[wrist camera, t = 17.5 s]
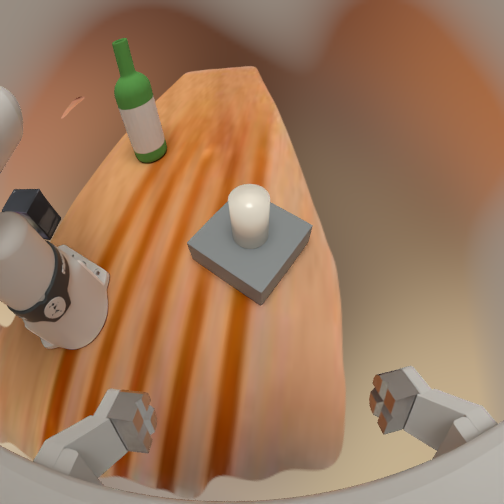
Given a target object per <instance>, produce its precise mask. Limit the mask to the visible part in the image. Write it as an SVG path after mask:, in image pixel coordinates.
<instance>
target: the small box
mask: <svg viewBox="0 0 504 504" xmlns="http://www.w3.org/2000/svg"><path fill="white" fill-rule="evenodd" d="M5 211H12V212H16V213H18V214H20V215H22V216H23V217H24V218H25V219H26V220H27V221H28V222H29V223H30V224H31V226H32V227H33V228H34V229H35V230H36V231H37V232H38V233H39V234H40V236H41V237H42V238H43V239H47V240H51V238H52V236H53V234H54V232H55V230H56V228H57V226H58V224H59V222H60V220H61V217H60V216H59V215H58V213H57V212H56V211H55V210H54V209H53V207H52V206H51V205H50V203H49V202H48V201H47V199H46V198H45V197H44V196H43V194H42V192H41V191H40V189H14V190H13V192H12V194H11V195H10V197H9V199H8V200H7V202H6V204H5V206H4V207H3V209H2V212H5Z"/></svg>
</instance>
